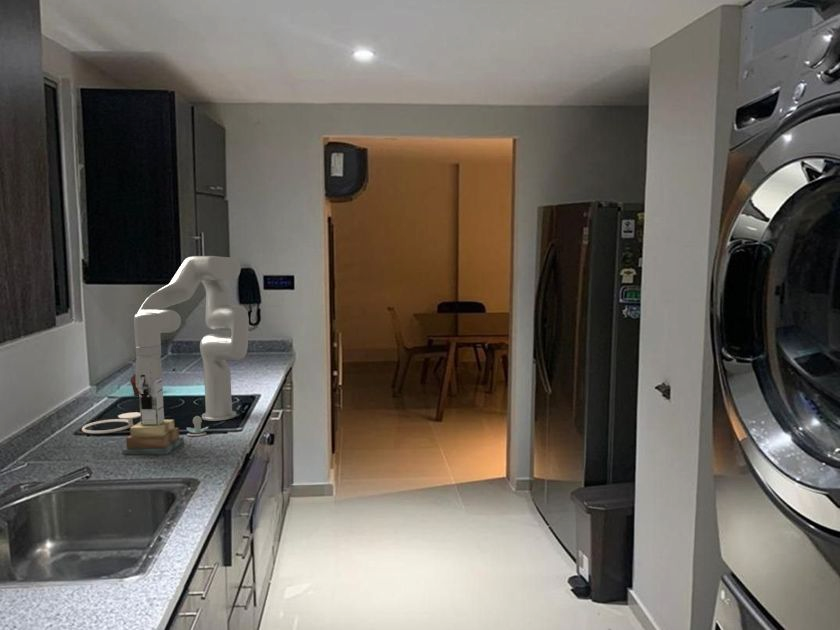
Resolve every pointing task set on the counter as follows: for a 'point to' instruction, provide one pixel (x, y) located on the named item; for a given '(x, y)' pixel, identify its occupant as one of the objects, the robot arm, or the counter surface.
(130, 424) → the hand towel holder
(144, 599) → the counter surface
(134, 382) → the muffin
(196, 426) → the pacifier
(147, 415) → the syrup box
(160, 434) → the tower base
